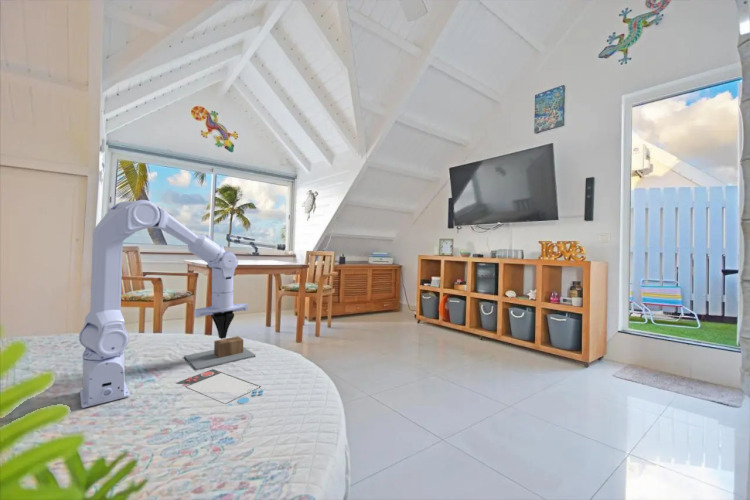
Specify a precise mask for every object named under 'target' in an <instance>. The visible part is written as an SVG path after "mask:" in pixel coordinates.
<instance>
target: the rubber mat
mask: <svg viewBox="0 0 750 500" xmlns="http://www.w3.org/2000/svg"><path fill="white" fill-rule="evenodd" d="M255 357H256V354H254V353H253V352H252V351H251V350H249V349H247V348H246V347H244V346H243V353H239V354H235V355H230V356H226V357H221V358H218V357H217V356H216V355H215V354H214V349H212V350H207V351H200V352H197V353H195V352H194V353H192V354H186V355H184V358H185V359H186V360H187V362H188V363H189V364H190V365H191V366H192V368H194V369H195V370H196V371H200V370H204V369H207V368H208V369H209V368H212V367H216V366H220V365H221V366H222V365H225V364H229V363H233V362H238V361H242V360H246V359H249V358H250V359H251V358H255Z"/></svg>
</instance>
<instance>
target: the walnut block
mask: <svg viewBox="0 0 750 500" xmlns="http://www.w3.org/2000/svg"><path fill="white" fill-rule="evenodd" d="M213 343H214V348H213V350H214V354H215V355H216V356H217V357H218V358H221V357H226V356H230V355H235V354H239V353H243V347H244V338H242V337H240V336H233V337H228V338H227V337H226V338H223V339H216V340H214V341H213Z"/></svg>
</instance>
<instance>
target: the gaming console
mask: <svg viewBox="0 0 750 500" xmlns="http://www.w3.org/2000/svg"><path fill="white" fill-rule="evenodd" d="M175 384H177V385H181V386H183V387H185V388H187V389H189V390H192V391H194V392H196V393H199V394H200V395H203V396H205V397H208V398H210V399H213V400H215V401H217V402H220V403H222V404H224V405H227V406H228V407H229V406H230V407H231V406H232V405H233V403H231V402H233V401H235V403H236V404H239V405H246V404H248V403H250V402H251V400H252V399H251V398H250V397H245V395H248V394H249V393H252V394H251V396H252V397H257V393H258V396H263V393H264V389H261V388H260V387H262V386H261V385H258V384H255V383H253V382H250V381H247V380H244V379H241V378H239V377H235V376H233V375H230V374H229V373H225V372H222V371H219V370H216V369H214V368H212V369H210V370H209V369H208V370H206V371H204V372H201V373H198V374H196V375H193V376H190V377H187V378H186V379H182V380H179V381H177V382H175ZM251 384H253V385H254V386H255V388H256V386H259V387H258V388H256V389H254V390H252V392H251V391H250V392H249V391H248V392H247V390H248V389H246V387H247V385H248V386H249V385H251ZM245 389H246V390H245ZM258 389H259V392H258ZM201 392H211V393H212V392H213V393H230V394H231V393H233V394H242V395H240V396H237V397H235V398H233V399H232V400H229V401H228V402H225V403H224V402H221V401H220V400H217V398H216V399H215V398H213V397H211V396H208V395H205V394H204V393H201Z"/></svg>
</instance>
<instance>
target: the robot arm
mask: <svg viewBox="0 0 750 500" xmlns="http://www.w3.org/2000/svg"><path fill="white" fill-rule="evenodd" d="M106 212H107V213H106V214H105V215H104V216H103V217H102V219H101V220H100V221H99V222H98V223H97V224H96V226H95V227H94V228H93V232H92V247H91V249H92V250H91V251H92V252H91V253H92V254H91V256H92V257H91V275H90V276H91V278H90V279H91V280H90V281H91V283H90V307H89V308H90V310H89V313H87V314H86V316H85V317H84V325H83V327H82V329H81V330H80V332H79V335H78V341H79V343H80V345H82V346H83V347H84V350H83V352H82V389H80V390H79V394H80V395H79V396H80V397H79V398H80V405H81V408H82V409H85V408H89V407H92V406H97V405H101V404H104V403H105V404H106V403H108V402H112V401H117V400H121V399H124V398H128V397H130V396H131V393H130V390H129V388H128V386H127V383H126V376H125V367H126V365H125V362H126V361H125V350H126V348H128V346H129V343H130V335H129V333H128V331H127V330H126V327H125V325H126V321H125V318H124V315H123V314H122V311H121V306H122V305H121V304H122V303H121V302H122V280H123V279H122V275H123V248H124V247H123V246H124V240H127V239H128V238H129V237H131V236H132V235H133V234H135V233H137V232H139V231H143V230H146V229H150V228H153V229H158V230H159V229H160V230H162V231H164V232H165V233H167V234H168V235H170V236H172V237H173V238H176V239H177V240H179V241H181V242H182V243H184V244H186V245H187V249H188V251H189V252H190V254H193V255H194V256H196V257H197V258H199V259H200V260H202V261H203V262H205V263H207V265H208V267H209V268H210V269H211V306H206V307H202V308H201V307H200V308H195V309H194V310H193V311H194V315H193V316H194V317H195V318H201V317H204V316H210V317H211V318H212V321H213V322H214V325H215V328H216V330H217V335H218V338H219V340H221V339H227V335H228V330H229V328H230V325H231V323H232V321H233V320H234V317H235V313H236V312H240V311H241V312H242V311H243V312H244V311H245V312H247V311H249V303H245V302H244V303H234V275H235V271H236V269H237V267H238V265H239V260H238V259H237V256H236V254H235V253H234V252H232V251H229V250H225V247H224V246H223V245H219V244H218V243H216V242H215V241H214V240H212V236H210V235H209V234H208V235H207V234H199V235H197V234H195V233H194V232H193V231H191V229H189V228H188V227H186V226H185V225H184V224H182V223H181V222H180V221H178V220H177V219H176V218H175V217H173V216H172V215H170V214H169V213H168V211H167V210H165V209H163V207H160V206H157V205H156V204H155V203H154V202H152V201H150V200H148V199H147V200H146V199H139V200H123V201H120V202H118V203H116V204H114V205H112V206H110V207H108V208H107V211H106Z"/></svg>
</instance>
